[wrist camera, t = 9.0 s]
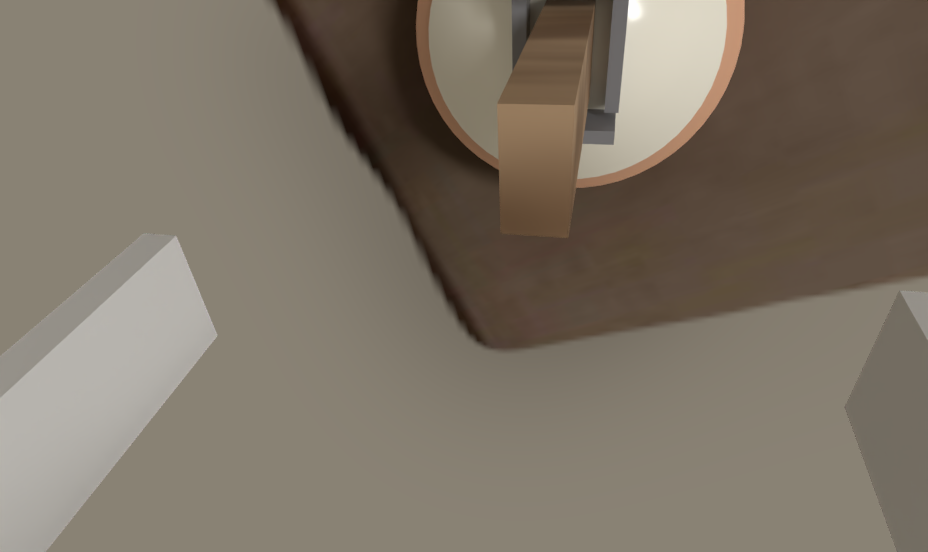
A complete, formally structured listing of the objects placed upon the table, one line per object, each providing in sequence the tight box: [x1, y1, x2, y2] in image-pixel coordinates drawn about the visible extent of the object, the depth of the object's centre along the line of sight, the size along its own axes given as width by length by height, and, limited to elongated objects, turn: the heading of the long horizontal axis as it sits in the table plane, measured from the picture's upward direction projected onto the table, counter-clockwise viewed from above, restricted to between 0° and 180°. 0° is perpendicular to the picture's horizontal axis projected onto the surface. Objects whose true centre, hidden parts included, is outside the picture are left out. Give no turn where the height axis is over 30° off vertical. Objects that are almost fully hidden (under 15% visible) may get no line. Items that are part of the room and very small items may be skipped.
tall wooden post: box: [497, 0, 596, 238], centre depth 21 cm, size 4×2×12 cm, turn 4°
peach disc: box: [416, 0, 744, 188], centre depth 26 cm, size 14×14×6 cm
